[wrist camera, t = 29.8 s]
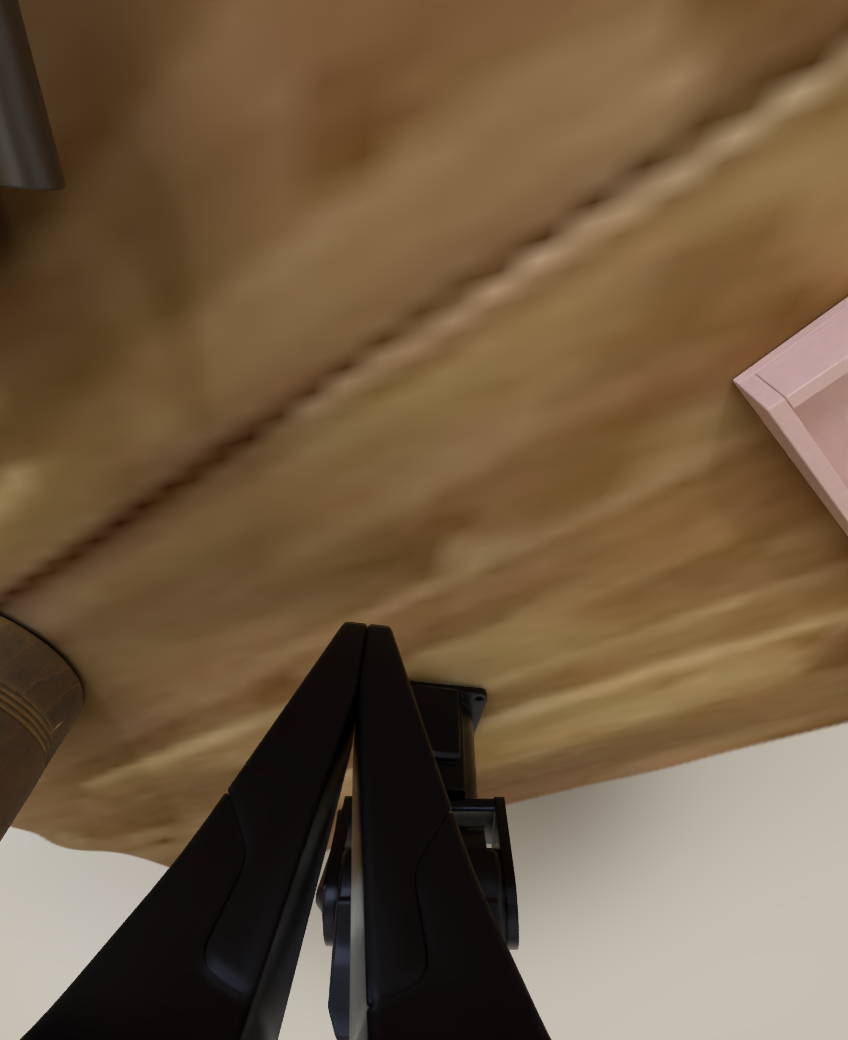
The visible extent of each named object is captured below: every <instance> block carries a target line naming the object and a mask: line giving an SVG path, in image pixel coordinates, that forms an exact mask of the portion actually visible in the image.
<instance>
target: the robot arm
mask: <svg viewBox="0 0 848 1040" xmlns="http://www.w3.org/2000/svg"><path fill="white" fill-rule="evenodd" d="M486 701H487V692H486V690H485V689H482V688H474V687H464V686H454V685H444V684H434V683H424V682H414V681H409V680H408V677H407V674H406V671H405V668H404V665H403V662H402V659H401V656H400V653H399V650H398V647H397V644H396V641H395V638H394V635H393V632H392V630H391V628H390V627H389V626H384V625H374V624H371V625H369V626H368V628H367V626H366V624H364V623H356V622H345V623H344V624H343V625H342V626H341V628H340V629H339V630H338V632H337V633H336V635H335V636H334V638H333V639H332V641H331V642H330V643H329V645H328V646H327V648H326V649H325V651H324V652H323V653H322V655H321V656H320V658H319V659H318V661H317V662H316V663H315V665H314V666H313V668H312V669H311V671H310V672H309V673H308V675H307V676H306V678H305V679H304V681H303V682H302V684H301V685H300V686H299V688H298V689H297V691H296V692H295V694H294V695H293V696H292V698H291V699H290V701H289V702H288V704H287V705H286V706H285V708H284V709H283V711H282V712H281V714H280V715H279V716H278V718H277V719H276V721H275V722H274V724H273V725H272V727H271V728H270V729H269V731H268V732H267V734H266V735H265V737H264V738H263V739H262V741H261V742H260V744H259V745H258V747H257V748H256V749H255V751H254V752H253V754H252V755H251V757H250V758H249V759H248V761H247V762H246V764H245V765H244V767H243V768H242V770H241V771H240V772H239V774H238V775H237V777H236V778H235V780H234V781H233V782H232V784H231V785H230V787H229V788H228V794H227V793H226V794H224V795H223V796H222V798H221V799H220V801H219V802H218V803H217V805H216V806H215V808H214V809H213V811H212V812H211V814H210V815H209V816H208V818H207V819H206V821H205V822H204V823H203V825H202V826H201V827H200V829H199V830H198V831H197V833H196V834H195V835H194V837H193V838H192V839H191V841H190V842H189V844H188V845H187V846H186V848H185V849H184V850H183V852H182V853H181V854H180V855H179V857H178V858H177V859H176V860H175V862H174V863H173V864H172V865H171V867H170V868H169V869H168V870H167V871H166V873H165V874H164V875H163V876H162V878H161V879H160V880H159V881H158V883H157V884H156V885H155V886H154V887H153V889H152V890H151V891H150V892H149V894H148V895H147V896H146V897H145V898H144V899H143V901H142V902H141V903H140V904H139V905H138V906H137V908H136V909H135V910H134V911H133V912H132V914H131V915H130V916H129V917H128V918H127V919H126V920H125V922H124V923H123V924H122V925H121V927H120V928H119V929H118V930H117V931H116V932H115V934H114V935H113V936H112V937H111V938H110V939H109V940H108V942H107V943H106V944H105V945H104V946H103V947H102V949H101V950H100V951H99V952H98V953H97V955H96V956H95V957H94V958H93V959H92V960H91V962H90V963H89V964H88V965H87V966H86V967H85V969H84V970H83V971H82V972H81V973H80V975H79V976H78V977H77V978H76V979H75V981H74V982H73V983H72V984H71V985H70V986H69V987H68V989H67V990H66V991H65V992H64V993H63V994H62V995H61V997H60V998H59V999H58V1000H57V1001H56V1002H55V1003H54V1004H53V1006H52V1007H51V1008H50V1009H49V1010H48V1011H47V1012H46V1013H45V1014H44V1015H43V1016H42V1017H41V1018H40V1020H39V1021H38V1022H37V1023H36V1024H35V1025H34V1026H33V1027H32V1028H31V1029H30V1030H29V1031H28V1032H27V1033H26V1034H25V1035H24V1036H23V1037H22V1038H21V1039H20V1040H278V1037H279V1033H280V1029H281V1025H282V1021H283V1017H284V1013H285V1009H286V1005H287V1001H288V997H289V993H290V989H291V985H292V981H293V978H294V974H295V970H296V966H297V961H298V958H299V953H300V950H301V946H302V942H303V938H304V934H305V930H306V926H307V922H308V918H309V915H310V911H311V907H312V903H313V899H314V895H315V891H316V887H317V883H318V879H319V875H320V871H321V867H322V863H323V859H324V855H325V852H326V848H327V844H328V840H329V836H330V832H331V828H332V824H333V820H334V816H335V812H336V808H337V804H338V800H339V796H340V792H341V789H342V785H343V781H344V777H345V773H346V769H347V765H348V761H349V757H350V752H351V748H352V743H353V737H354V744H353V789H352V796H345V799H344V804H343V808H342V809H341V810H339V811H338V814H337V821H336V828H335V833H334V837H333V842H332V846H331V851H330V854H329V857H328V860H327V863H326V866H325V869H324V872H323V875H322V877H321V880H320V884H319V886H318V889H317V893H316V904H317V906H318V907H319V909H320V910H321V912H322V919H323V935H324V941H325V944H326V946H333V950H332V964H331V977H330V989H329V1001H328V1009H329V1013H330V1017H331V1021H332V1025H333V1029H334V1033H335V1036H336V1039H337V1040H551V1038H550V1036H549V1034H548V1032H547V1030H546V1028H545V1026H544V1024H543V1022H542V1020H541V1018H540V1016H539V1014H538V1012H537V1010H536V1007H535V1005H534V1003H533V1001H532V999H531V997H530V994H529V992H528V990H527V988H526V986H525V984H524V981H523V979H522V977H521V975H520V973H519V971H518V969H517V966H516V964H515V962H514V960H513V958H512V955H511V953H510V951H509V950H510V949H511V950H517V949H518V945H519V925H518V924H519V923H518V905H517V893H516V883H515V874H514V867H513V859H512V852H511V844H510V837H509V830H508V823H507V815H506V808H505V800H504V797H494V799H477V786H476V768H475V750H474V732H475V730H476V727H477V724H478V722H479V719H480V717H481V714H482V711H483V709H484V706H485V704H486ZM354 731H355V733H354ZM486 844H492V848H487V847H486Z"/></svg>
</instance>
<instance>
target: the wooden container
mask: <svg viewBox="0 0 848 1040" xmlns="http://www.w3.org/2000/svg"><path fill="white" fill-rule="evenodd" d="M82 706H83V690H82V686H81V684H80V682H79V679H78V677H77V676H76V674H75V673H74V672H73V670H72V669H71V668H70V666H69V665H68V664H67V663H66V662H65V661H64V660H63V659H62V658H61V657H60V656H59V655H58V654H57V653H56V652H55V651H54V650H53V649H52V648H50V647H49V646H48V645H47V644H46V643H44V642H43V641H42V640H40V639H39V638H37V637H36V636H35V635H33V634H31V633H30V632H28V631H27V630H25V629H24V628H22V627H20V626H19V625H17V624H15V623H13V622H12V621H10V620H8V619H6V618H4V617H2V616H0V841H1V839H2V838H3V836H4V835H5V833H6V832H7V830H8V828H9V827H10V825H11V824H12V822H13V821H14V819H15V817H16V816H17V814H18V813H19V811H20V809H21V808H22V806H23V805H24V803H25V801H26V800H27V798H28V796H29V795H30V793H31V792H32V790H33V788H34V787H35V785H36V784H37V782H38V780H39V779H40V777H41V775H42V773H43V772H44V769H45V768H46V766H47V764H48V763H49V761H50V760H51V758H52V756H53V755H54V753H55V752H56V750H57V748H58V747H59V745H60V744H61V742H62V740H63V739H64V737H65V736H66V734H67V732H68V731H69V729H70V727H71V726H72V724H73V722H74V721H75V719H76V717H77V716H78V714H79V712H80V710H81V708H82Z"/></svg>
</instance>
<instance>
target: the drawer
mask: <svg viewBox="0 0 848 1040" xmlns="http://www.w3.org/2000/svg"><path fill="white" fill-rule="evenodd" d="M0 185H2V186H5V187H9V188H15V189H22V190H34V191H55V190H61V189H64V188H65V185H66V184H65V181H64V177H63V173H62V169H61V165H60V161H59V157H58V154H57V150H56V146H55V142H54V138H53V134H52V130H51V127H50V123H49V119H48V115H47V111H46V107H45V103H44V100H43V96H42V92H41V88H40V84H39V80H38V76H37V73H36V69H35V65H34V61H33V57H32V53H31V49H30V46H29V42H28V38H27V34H26V30H25V26H24V22H23V19H22V15H21V11H20V7H19V3H18V0H0Z"/></svg>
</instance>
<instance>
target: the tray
mask: <svg viewBox="0 0 848 1040" xmlns="http://www.w3.org/2000/svg"><path fill="white" fill-rule="evenodd" d="M733 382H734V383H735V385H736V386H737V387H738V389H739V390H740V391H741V393H742V394H743V395H744V397H745V398H746V399H747V401H748V402H749V404H750V405H751V406H752V408H753V409H754V410H755V412H756V413H757V414H758V416H759V417H760V418H761V420H762V421H763V422H764V424H765V425H766V427H767V428H768V429H769V431H770V432H771V433H772V435H773V436H774V437H775V439H776V440H777V441H778V443H779V444H780V445H781V447H782V448H783V450H784V451H785V452H786V454H787V455H788V456H789V458H790V459H791V460H792V462H793V463H794V464H795V466H796V467H797V468H798V470H799V471H800V473H801V474H802V475H803V477H804V478H805V479H806V481H807V482H808V483H809V485H810V486H811V487H812V489H813V490H814V491H815V493H816V494H817V496H818V497H819V498H820V500H821V501H822V502H823V504H824V505H825V506H826V508H827V509H828V510H829V512H830V513H831V514H832V516H833V517H834V519H835V520H836V521H837V523H838V524H839V525H840V527H841V528H842V529H843V531H844V532H845V533H846V535H847V536H848V297H847V298H845V299H844V300H842V301H841V302H840V303H838V304H837V305H835V306H834V307H833V308H831V309H830V310H829V311H827V312H826V313H824V314H823V315H822V316H820V317H819V318H817V319H816V320H815V321H813V322H812V323H811V324H809V325H808V326H806V327H805V328H804V329H802V330H801V331H799V332H798V333H797V334H795V335H794V336H793V337H791V338H790V339H788V340H787V341H786V342H784V343H783V344H781V345H780V346H779V347H777V348H776V349H775V350H773V351H772V352H770V353H769V354H768V355H766V356H765V357H763V358H762V359H761V360H759V361H758V362H757V363H755V364H754V365H752V366H751V367H750V368H748V369H747V370H745V371H744V372H743V373H741V374H740V375H739V376H737V377H736V378H734V379H733Z"/></svg>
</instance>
